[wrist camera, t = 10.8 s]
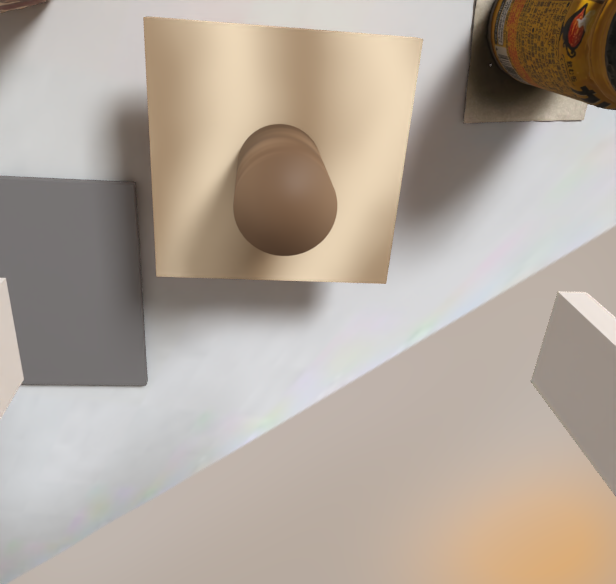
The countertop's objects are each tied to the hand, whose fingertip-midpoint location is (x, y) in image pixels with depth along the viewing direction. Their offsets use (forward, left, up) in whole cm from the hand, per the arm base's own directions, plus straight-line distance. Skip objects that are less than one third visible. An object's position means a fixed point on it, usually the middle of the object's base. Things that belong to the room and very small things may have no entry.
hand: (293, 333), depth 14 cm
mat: (-15, -10, -21) cm, 28 cm away
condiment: (+14, +6, -22) cm, 27 cm away
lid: (0, 0, -16) cm, 16 cm away
